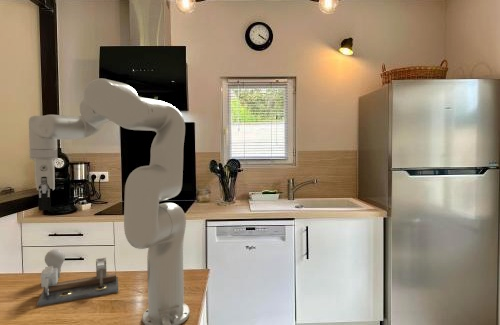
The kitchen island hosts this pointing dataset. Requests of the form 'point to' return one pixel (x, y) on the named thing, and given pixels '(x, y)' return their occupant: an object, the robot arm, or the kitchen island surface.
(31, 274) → the kitchen island surface
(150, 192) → the robot arm
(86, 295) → the bolt plate
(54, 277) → the sliding leg
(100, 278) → the frame
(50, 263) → the lightbulb
